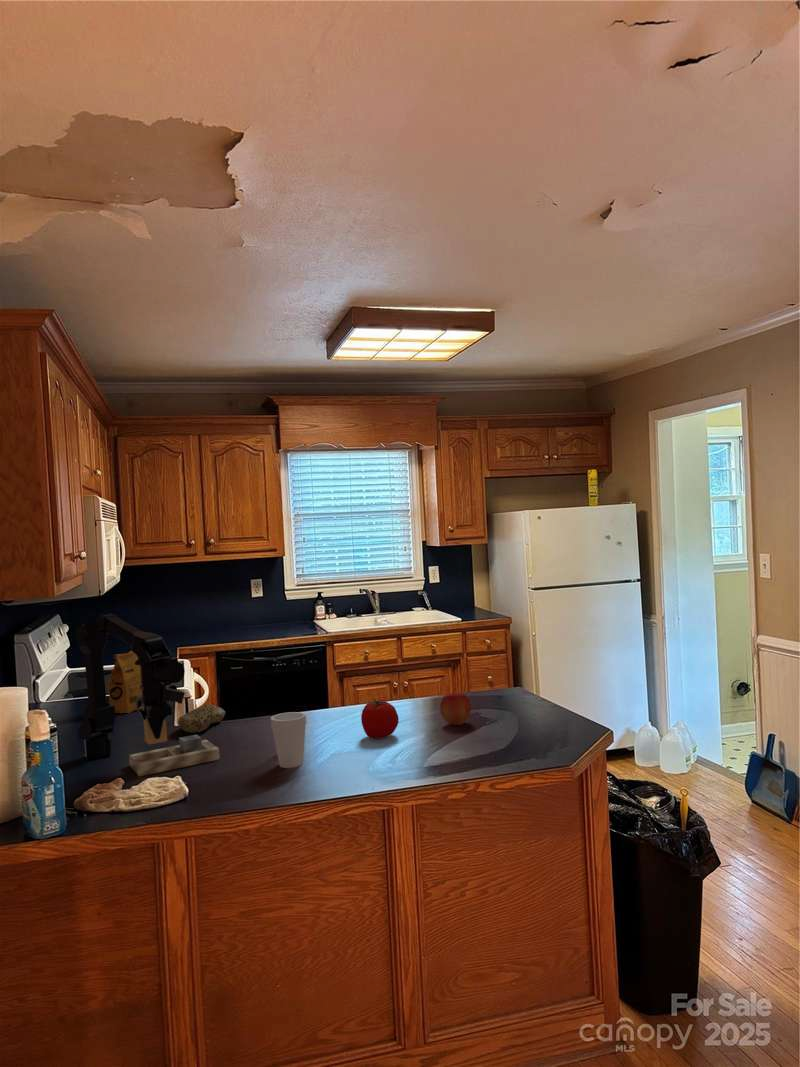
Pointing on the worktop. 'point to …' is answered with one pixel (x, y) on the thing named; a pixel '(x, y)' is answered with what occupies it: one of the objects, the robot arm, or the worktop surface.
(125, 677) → the coffee package
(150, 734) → the block
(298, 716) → the foam cup
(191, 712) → the speckled rock
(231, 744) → the worktop surface
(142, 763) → the puzzle frame
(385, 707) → the red fruit
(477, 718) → the worktop surface
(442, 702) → the apple
